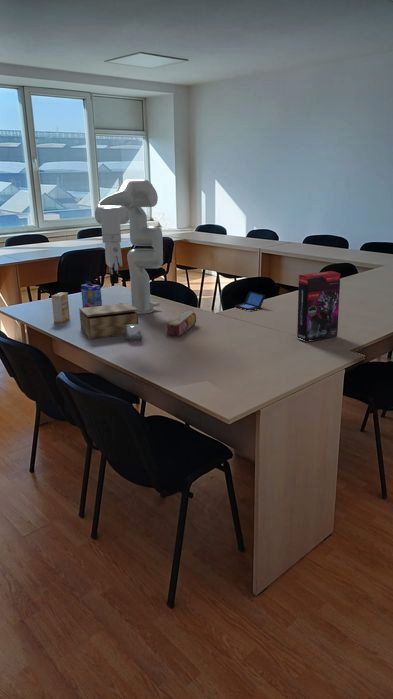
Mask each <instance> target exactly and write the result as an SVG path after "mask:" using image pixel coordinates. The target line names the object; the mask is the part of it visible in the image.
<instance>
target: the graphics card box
mask: <svg viewBox="0 0 393 699" xmlns="http://www.w3.org/2000/svg"><path fill="white" fill-rule="evenodd" d="M340 287H341V273H340V272H336V271H333V270H329V271H322V272H321V271H320V272H313V273H303V274H299V275H298V290H297V291H298V294H297V296H298V297H297V299H298V300H297V303H298V304H297V328H296V329H297V330H296V334H297V335H296V338H297V337H298V338H301V339H303V340H305V341H309V340H315V341H319V340H323V339H330V338H334V337H337V336H338V334H339V333H338V330H339V314H340V311H339V309H340V308H339V307H340V289H341V288H340Z"/></svg>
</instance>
